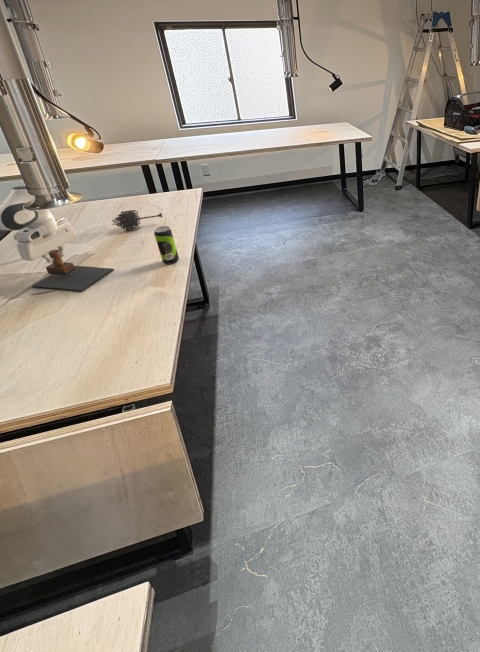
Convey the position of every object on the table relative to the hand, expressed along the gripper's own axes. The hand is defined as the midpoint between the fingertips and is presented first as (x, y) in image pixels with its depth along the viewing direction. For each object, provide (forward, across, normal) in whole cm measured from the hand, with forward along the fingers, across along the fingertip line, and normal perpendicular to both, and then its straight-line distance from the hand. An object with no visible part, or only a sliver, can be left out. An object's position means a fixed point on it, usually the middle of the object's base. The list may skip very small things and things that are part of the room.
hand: (56, 259), depth 159 cm
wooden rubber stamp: (+6, 0, 0) cm, 6 cm away
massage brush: (+9, -47, -3) cm, 48 cm away
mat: (+8, 0, +5) cm, 10 cm away
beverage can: (+9, -18, +35) cm, 40 cm away
